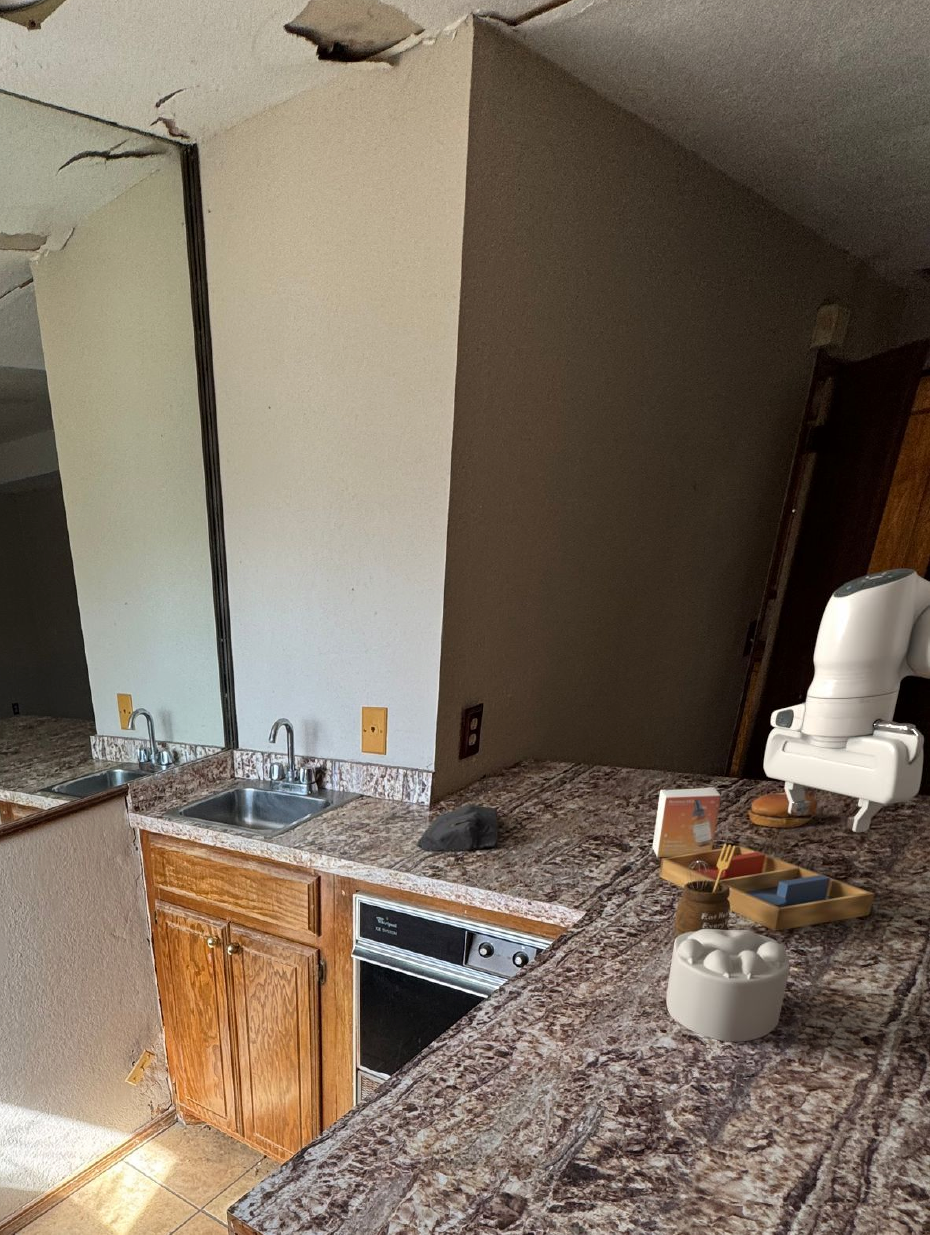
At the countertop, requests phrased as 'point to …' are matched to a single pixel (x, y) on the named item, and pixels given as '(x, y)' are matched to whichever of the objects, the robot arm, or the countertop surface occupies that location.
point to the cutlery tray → (771, 891)
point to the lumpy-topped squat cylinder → (727, 983)
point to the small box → (686, 821)
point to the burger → (779, 811)
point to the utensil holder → (705, 901)
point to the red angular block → (739, 866)
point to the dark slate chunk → (462, 830)
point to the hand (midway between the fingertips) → (826, 822)
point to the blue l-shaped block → (798, 891)
